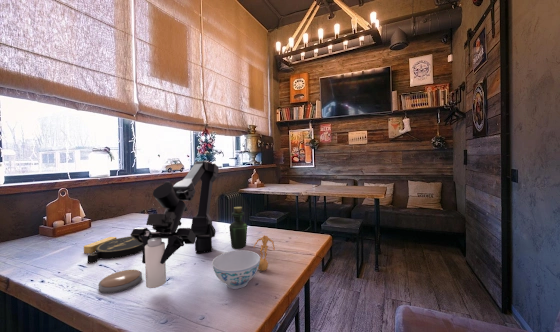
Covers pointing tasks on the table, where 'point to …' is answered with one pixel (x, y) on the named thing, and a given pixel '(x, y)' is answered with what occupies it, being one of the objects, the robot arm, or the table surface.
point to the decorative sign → (112, 248)
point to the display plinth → (120, 281)
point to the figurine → (263, 262)
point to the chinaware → (236, 267)
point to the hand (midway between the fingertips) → (152, 263)
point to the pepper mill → (155, 263)
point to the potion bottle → (238, 230)
